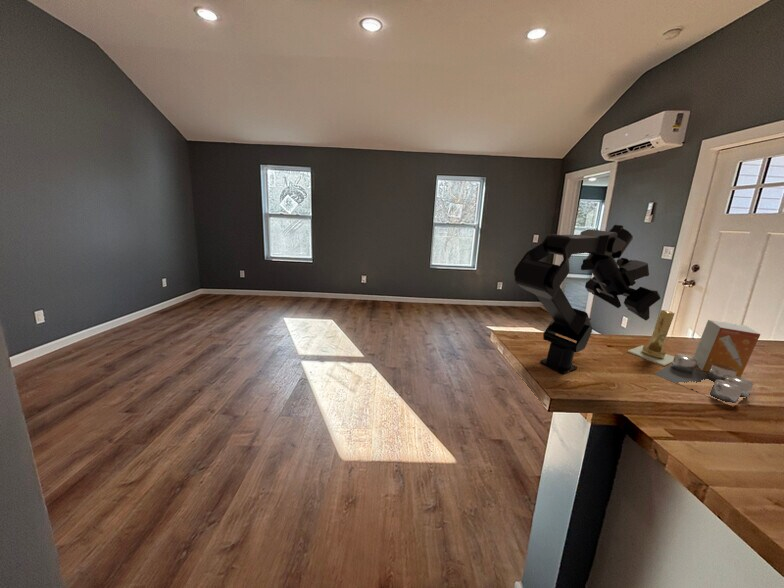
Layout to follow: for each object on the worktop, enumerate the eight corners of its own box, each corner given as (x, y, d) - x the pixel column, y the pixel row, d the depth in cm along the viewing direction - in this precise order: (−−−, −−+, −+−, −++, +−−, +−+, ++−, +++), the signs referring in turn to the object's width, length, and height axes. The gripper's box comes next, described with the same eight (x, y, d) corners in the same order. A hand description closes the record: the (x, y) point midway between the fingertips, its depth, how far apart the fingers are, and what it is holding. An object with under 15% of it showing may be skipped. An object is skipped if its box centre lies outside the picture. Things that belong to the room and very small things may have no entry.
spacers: (735, 407, 70) (741, 394, 69) (654, 373, 82) (658, 361, 81) (755, 391, 77) (761, 378, 76) (678, 362, 89) (682, 351, 88)
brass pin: (663, 360, 88) (679, 316, 85) (640, 353, 92) (654, 311, 88) (665, 355, 92) (680, 313, 88) (643, 348, 96) (657, 307, 92)
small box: (701, 372, 85) (720, 327, 82) (690, 361, 91) (707, 319, 87) (741, 380, 83) (761, 333, 79) (727, 368, 88) (745, 325, 85)
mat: (733, 409, 70) (733, 407, 70) (652, 375, 82) (653, 373, 82) (753, 392, 77) (754, 390, 77) (676, 363, 89) (677, 361, 89)
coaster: (663, 367, 86) (664, 364, 86) (627, 353, 94) (627, 350, 93) (677, 361, 91) (678, 358, 91) (641, 347, 98) (642, 345, 98)
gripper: (666, 257, 72) (693, 305, 76) (605, 244, 89) (630, 283, 94) (624, 289, 73) (653, 334, 78) (572, 270, 91) (598, 308, 95)
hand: (632, 312), depth 86 cm, fingers open, 9 cm apart
